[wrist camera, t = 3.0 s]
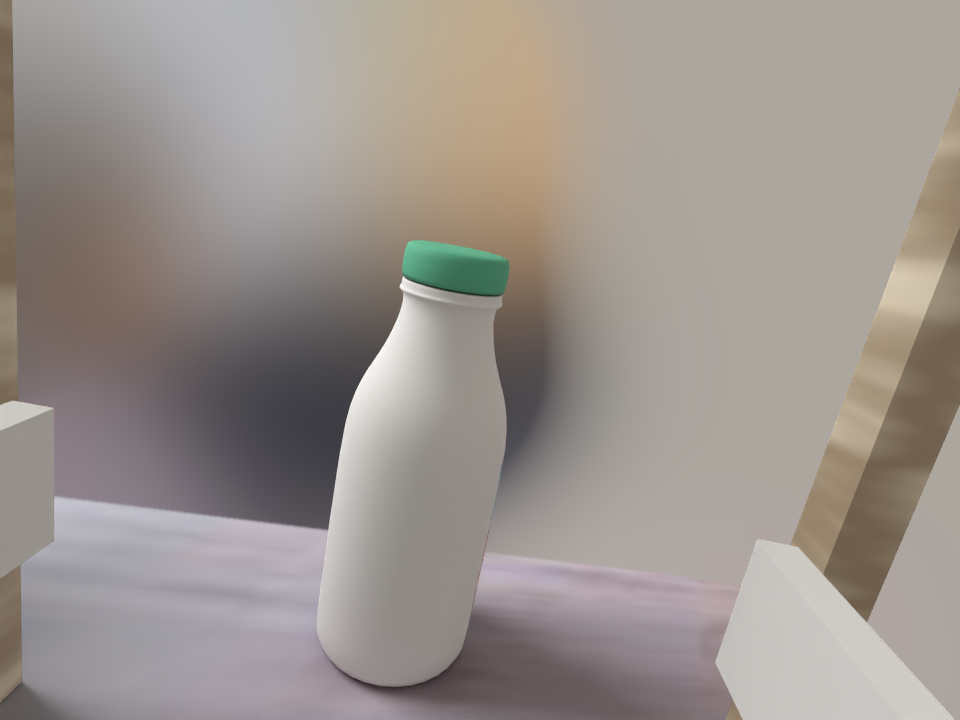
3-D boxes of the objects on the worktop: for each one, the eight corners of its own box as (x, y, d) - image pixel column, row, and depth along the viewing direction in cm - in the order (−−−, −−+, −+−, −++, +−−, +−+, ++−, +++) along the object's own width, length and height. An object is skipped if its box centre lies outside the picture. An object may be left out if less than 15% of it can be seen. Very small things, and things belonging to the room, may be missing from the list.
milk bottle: (462, 704, 26) (559, 274, 21) (294, 680, 26) (352, 234, 21) (465, 594, 33) (537, 257, 29) (334, 574, 33) (385, 228, 28)
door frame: (-76, 714, 21) (-155, -441, 13) (-28, 672, 23) (-70, -355, 15) (763, 864, 22) (1197, -153, 13) (741, 811, 24) (1108, -106, 15)
